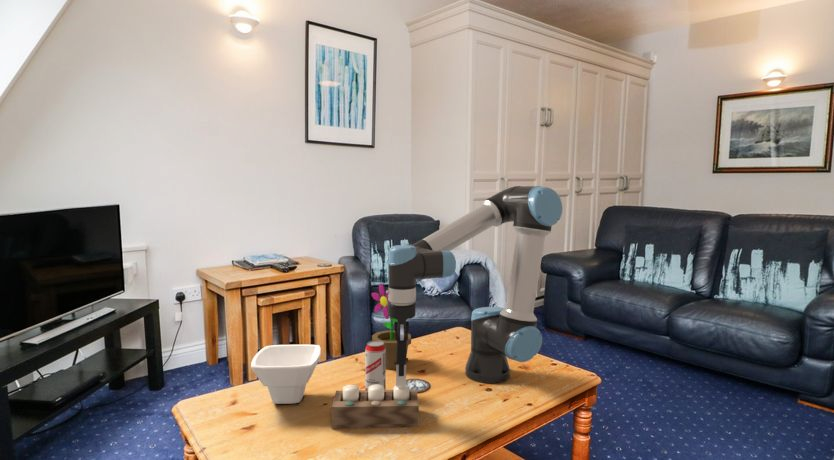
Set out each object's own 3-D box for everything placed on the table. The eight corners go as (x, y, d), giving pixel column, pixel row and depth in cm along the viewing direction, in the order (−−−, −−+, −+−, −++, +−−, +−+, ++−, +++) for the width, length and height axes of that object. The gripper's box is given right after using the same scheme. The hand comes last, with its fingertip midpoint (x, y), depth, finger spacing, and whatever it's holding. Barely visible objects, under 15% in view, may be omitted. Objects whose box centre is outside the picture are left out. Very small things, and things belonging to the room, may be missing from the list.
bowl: (316, 414, 135) (316, 366, 133) (246, 416, 133) (245, 367, 132) (325, 386, 153) (324, 343, 152) (263, 387, 152) (262, 344, 150)
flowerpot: (363, 364, 171) (363, 282, 168) (390, 354, 182) (391, 276, 179) (392, 375, 162) (392, 288, 159) (419, 363, 173) (420, 281, 170)
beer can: (382, 398, 145) (382, 347, 143) (362, 396, 146) (362, 345, 144) (387, 389, 151) (387, 340, 149) (368, 388, 152) (368, 339, 150)
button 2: (409, 400, 136) (409, 383, 135) (409, 408, 131) (409, 390, 131) (393, 401, 135) (393, 384, 135) (393, 408, 131) (393, 390, 131)
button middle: (384, 401, 135) (384, 384, 135) (383, 408, 131) (384, 390, 130) (368, 401, 135) (368, 384, 135) (367, 408, 131) (367, 391, 130)
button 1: (359, 401, 135) (359, 384, 134) (358, 408, 131) (358, 391, 130) (343, 401, 135) (343, 384, 134) (342, 409, 130) (341, 391, 130)
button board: (416, 409, 138) (416, 388, 137) (418, 427, 128) (418, 404, 127) (336, 410, 137) (336, 389, 136) (331, 428, 127) (331, 406, 126)
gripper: (388, 296, 137) (387, 376, 139) (387, 308, 124) (387, 396, 126) (414, 296, 137) (413, 376, 139) (416, 308, 124) (415, 395, 126)
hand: (400, 385), depth 133 cm, fingers closed
